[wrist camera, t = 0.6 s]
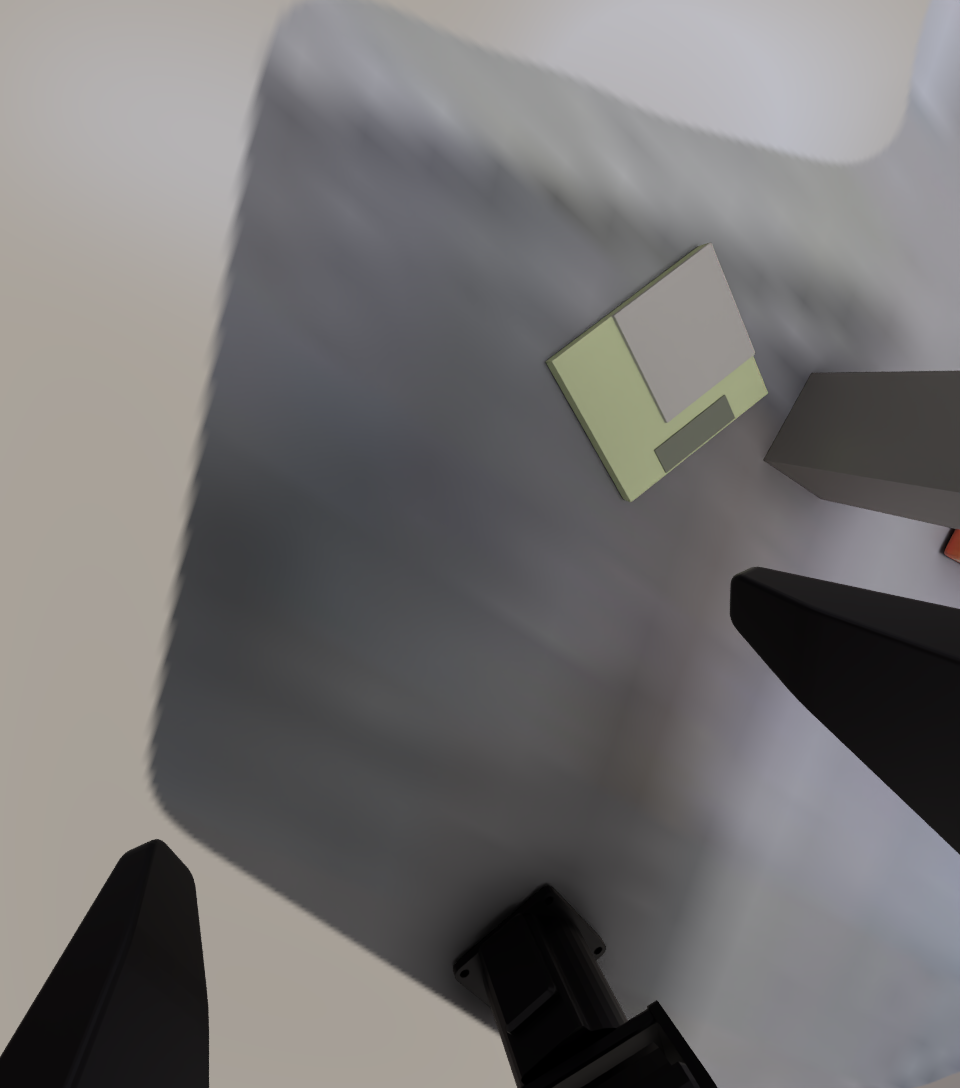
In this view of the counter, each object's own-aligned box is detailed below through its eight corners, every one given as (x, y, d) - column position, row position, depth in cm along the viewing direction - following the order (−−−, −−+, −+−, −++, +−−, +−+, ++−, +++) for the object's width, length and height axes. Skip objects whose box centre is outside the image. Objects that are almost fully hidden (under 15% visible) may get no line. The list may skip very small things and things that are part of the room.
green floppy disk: (758, 392, 26) (771, 393, 25) (623, 499, 25) (633, 503, 25) (697, 246, 23) (711, 242, 23) (545, 361, 23) (554, 361, 22)
